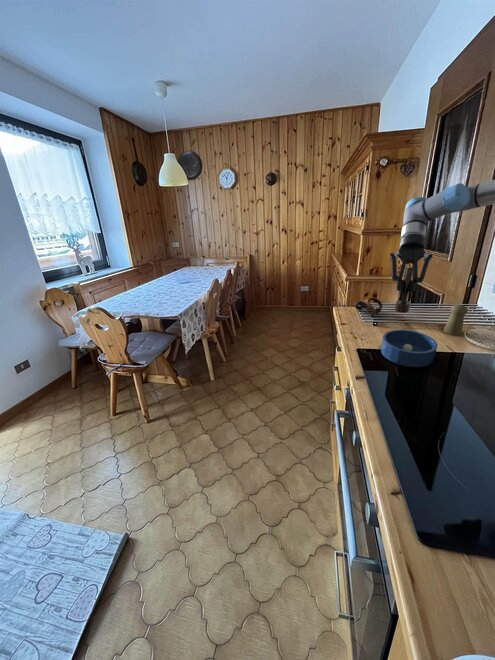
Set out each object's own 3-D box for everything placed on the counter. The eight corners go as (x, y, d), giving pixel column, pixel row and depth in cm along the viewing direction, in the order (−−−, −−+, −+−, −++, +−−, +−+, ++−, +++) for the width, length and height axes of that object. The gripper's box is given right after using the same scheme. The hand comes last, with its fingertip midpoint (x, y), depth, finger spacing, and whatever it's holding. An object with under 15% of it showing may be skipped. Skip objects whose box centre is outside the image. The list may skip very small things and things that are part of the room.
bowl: (442, 355, 98) (446, 341, 96) (418, 373, 90) (422, 358, 88) (396, 338, 111) (399, 325, 108) (371, 352, 102) (373, 339, 100)
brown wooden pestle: (411, 310, 99) (420, 268, 92) (404, 313, 97) (413, 271, 90) (398, 307, 102) (406, 266, 96) (392, 310, 100) (399, 268, 93)
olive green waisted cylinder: (461, 336, 109) (469, 310, 104) (442, 332, 112) (449, 307, 107) (462, 330, 113) (470, 304, 108) (444, 327, 116) (451, 302, 111)
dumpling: (413, 352, 100) (414, 344, 98) (408, 355, 98) (410, 347, 97) (404, 348, 102) (406, 341, 101) (400, 351, 100) (401, 344, 99)
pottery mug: (372, 308, 138) (381, 297, 132) (376, 323, 133) (386, 312, 126) (349, 304, 137) (357, 292, 130) (352, 319, 131) (361, 308, 125)
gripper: (434, 245, 100) (428, 306, 94) (388, 244, 106) (379, 301, 100) (440, 232, 93) (434, 296, 88) (390, 232, 99) (381, 292, 94)
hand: (404, 299), depth 94 cm, fingers closed on brown wooden pestle, 2 cm apart
